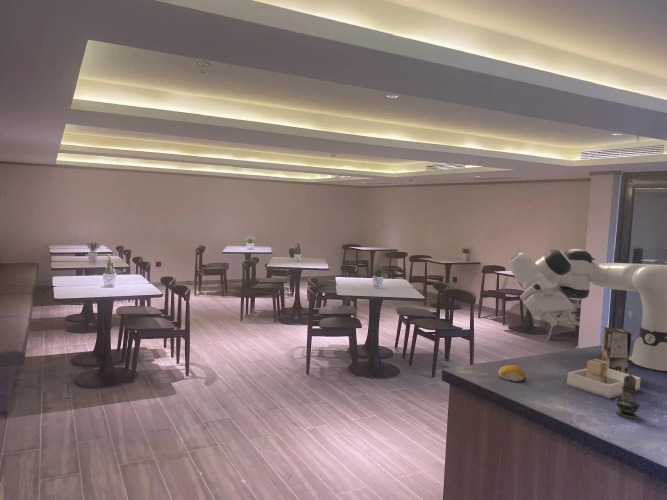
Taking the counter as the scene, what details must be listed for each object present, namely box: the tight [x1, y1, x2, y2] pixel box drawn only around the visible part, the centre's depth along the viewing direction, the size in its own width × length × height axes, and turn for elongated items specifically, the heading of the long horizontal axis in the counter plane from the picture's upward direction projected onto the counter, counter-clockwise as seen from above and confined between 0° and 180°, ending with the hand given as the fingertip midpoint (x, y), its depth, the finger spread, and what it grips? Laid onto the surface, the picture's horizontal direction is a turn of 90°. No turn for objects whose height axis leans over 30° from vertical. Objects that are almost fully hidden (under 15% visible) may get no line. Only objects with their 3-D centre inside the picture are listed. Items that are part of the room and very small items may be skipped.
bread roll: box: [497, 364, 525, 382], centre depth 164 cm, size 8×9×4 cm
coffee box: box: [600, 326, 633, 374], centre depth 172 cm, size 9×6×16 cm
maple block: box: [586, 358, 608, 384], centre depth 155 cm, size 5×4×8 cm
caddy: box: [566, 367, 641, 400], centre depth 158 cm, size 18×14×4 cm
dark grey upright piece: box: [615, 372, 641, 420], centre depth 135 cm, size 6×6×12 cm
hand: (563, 324), depth 165 cm, fingers open, 8 cm apart
